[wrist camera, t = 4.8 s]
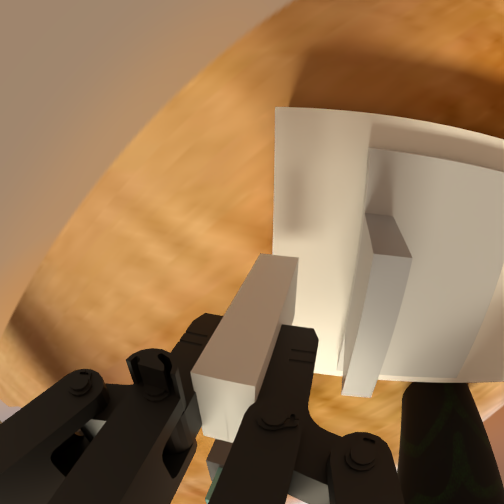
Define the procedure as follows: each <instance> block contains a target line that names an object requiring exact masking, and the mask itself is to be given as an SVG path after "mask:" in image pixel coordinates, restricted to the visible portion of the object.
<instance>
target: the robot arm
mask: <svg viewBox="0 0 504 504" xmlns="http://www.w3.org/2000/svg"><path fill="white" fill-rule="evenodd" d="M298 261H299V257H289V256H280V255H271V254H261V253H260V255H259V257H258V259H257V260H256V262H255V264H254V265H253V267H252V269H251V270H250V272H249V274H248V276H247V277H246V279H245V281H244V282H243V284H242V286H241V288H240V289H239V291H238V293H237V294H236V296H235V298H234V299H233V301H232V303H231V305H230V306H229V308H228V310H227V311H226V313H225V315H224V316H219V315H213V314H208V313H204V314H203V315H201V316H200V317H198V318H197V319H195V320H194V321H193V322H192V323H191V325H190V326H189V327H188V329H187V330H186V333H184V334H183V336H182V337H181V339H180V342H178V343H177V344H176V346H175V347H174V349H173V350H172V351H171V353H169V352H167V351H165V350H163V349H154V348H151V349H145V350H141V351H138V352H136V353H134V354H132V355H131V356H130V357H129V358H127V359H126V362H127V365H128V368H129V371H130V374H131V377H132V379H133V382H134V384H133V385H119V384H105V383H104V380H103V378H102V377H101V376H100V374H99V373H98V372H96V371H93V370H91V369H80V370H76V371H73V372H71V373H70V374H68V375H66V376H65V377H64V378H62V379H61V380H59V381H58V382H57V383H55V384H54V385H53V386H51V387H50V388H49V389H47V390H46V391H45V392H43V393H42V394H40V395H39V396H38V397H36V398H35V399H34V400H32V401H31V402H30V403H28V404H27V405H26V406H24V407H23V408H21V409H20V410H19V411H17V412H16V413H15V414H14V415H12V416H11V417H9V418H8V419H7V420H5V421H4V422H3V423H2V422H1V421H0V504H170V503H171V501H172V499H173V497H174V495H175V493H176V491H177V489H178V487H179V485H180V483H181V481H182V479H183V477H184V475H185V473H186V471H187V469H188V466H189V464H190V462H191V460H192V458H193V456H194V454H195V452H196V448H197V442H196V439H195V438H196V436H197V434H198V432H199V430H200V428H201V426H202V430H203V435H204V436H208V437H212V438H215V439H219V440H223V441H227V442H231V443H233V444H232V447H231V449H230V452H229V454H228V457H227V459H226V462H225V464H224V467H223V469H222V471H221V474H220V476H219V479H218V481H217V483H216V486H215V488H214V490H213V493H212V495H211V497H210V500H209V502H208V504H285V502H286V498H287V494H289V495H291V496H293V497H295V498H297V499H299V500H301V501H304V502H306V503H308V504H405V502H404V498H403V494H402V490H401V486H400V482H399V479H398V475H397V471H396V467H395V464H394V460H393V456H392V453H391V450H390V449H389V447H388V445H387V443H386V442H385V441H383V440H382V439H381V438H380V437H379V436H376V435H373V434H371V433H368V432H355V433H351V434H348V435H345V436H343V437H341V436H338V435H336V434H333V433H331V432H328V431H326V430H324V429H323V428H321V427H319V426H318V425H317V424H316V423H315V422H314V421H313V419H312V418H311V416H310V414H309V410H308V401H309V396H310V390H311V385H312V379H313V373H314V368H315V362H316V355H317V349H318V343H319V339H318V337H317V334H316V332H315V330H314V328H307V327H299V326H292V323H293V320H294V316H295V304H296V290H297V276H298Z"/></svg>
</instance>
